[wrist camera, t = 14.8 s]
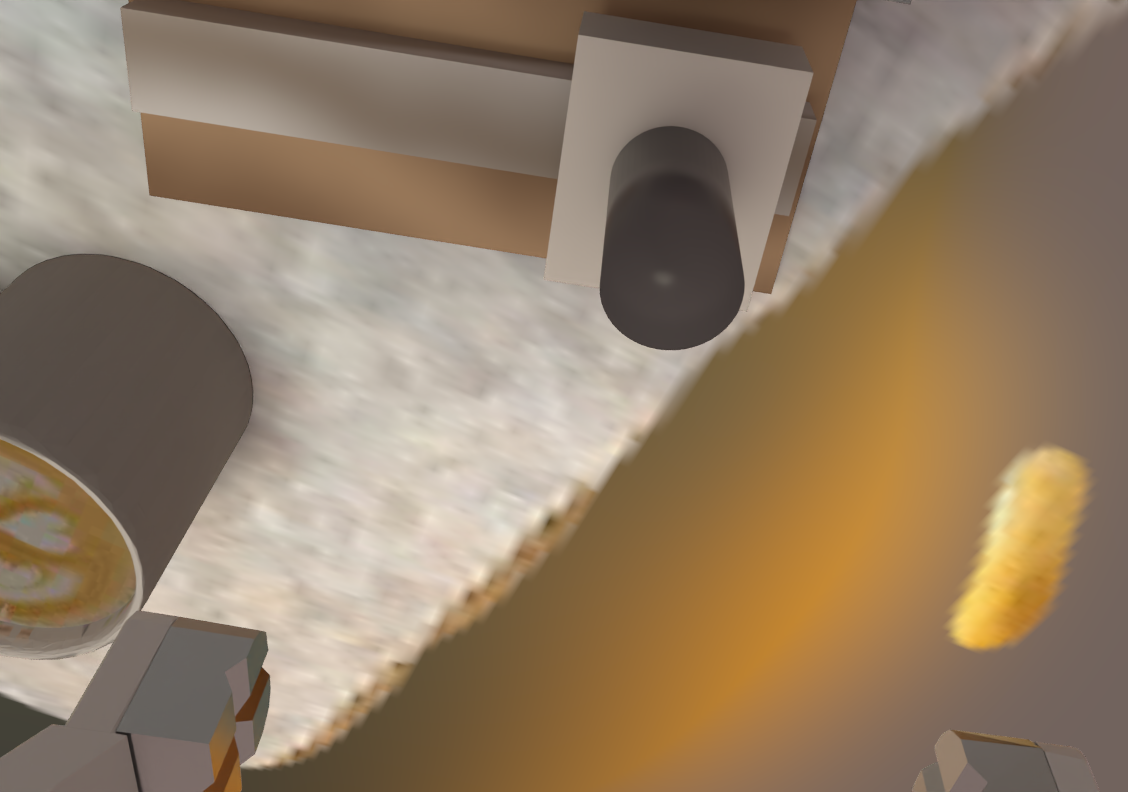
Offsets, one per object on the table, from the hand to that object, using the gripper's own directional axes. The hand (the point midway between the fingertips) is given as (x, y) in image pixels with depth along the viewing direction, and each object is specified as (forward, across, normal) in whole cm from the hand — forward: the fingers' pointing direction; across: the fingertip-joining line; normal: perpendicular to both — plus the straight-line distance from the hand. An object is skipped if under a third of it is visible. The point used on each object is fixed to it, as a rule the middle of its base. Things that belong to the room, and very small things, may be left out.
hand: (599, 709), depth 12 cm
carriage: (+20, -1, +1) cm, 20 cm away
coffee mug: (+23, +19, +13) cm, 32 cm away
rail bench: (+23, +5, +1) cm, 24 cm away
